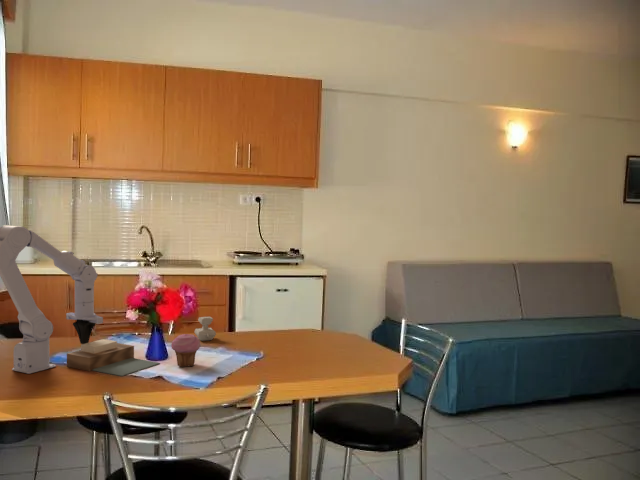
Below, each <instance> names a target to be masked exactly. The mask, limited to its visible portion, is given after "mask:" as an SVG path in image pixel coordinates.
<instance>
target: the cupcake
mask: <svg viewBox="0 0 640 480" xmlns="http://www.w3.org/2000/svg"><path fill="white" fill-rule="evenodd" d="M200 348H201V340H200V339H199V338H198V337H197V336H196V335H194V334H190V333H189V334H188V333H183V334H179V335H178V336H176V337H175V338H174V339H173V340H172V342H171V349H172V350H173V351H174V352H175V356H176V364H177V366H178V367H180V368H181V367H182V368H184V367H194V366H195V362H196V354H197V351H198V350H199V349H200Z"/></svg>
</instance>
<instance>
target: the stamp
mask: <svg viewBox="0 0 640 480" xmlns="http://www.w3.org/2000/svg"><path fill="white" fill-rule="evenodd" d="M213 320H214V318H213V317H211V316H201V317H200V316H198V320H197V321H198V322H199V323H200V325H201V326H202V327H200V328H195V329H194V334H195V336H196V337H197V338H198V339H199V340H200V342H201V341H202V342H205V341H206V342H207V341H212V340H213V339H214V338H215V336H216V335H217V334H216V333H217V332H216V330H214V329H213V328H212V327H209V325H211V324H212V322H213Z"/></svg>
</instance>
